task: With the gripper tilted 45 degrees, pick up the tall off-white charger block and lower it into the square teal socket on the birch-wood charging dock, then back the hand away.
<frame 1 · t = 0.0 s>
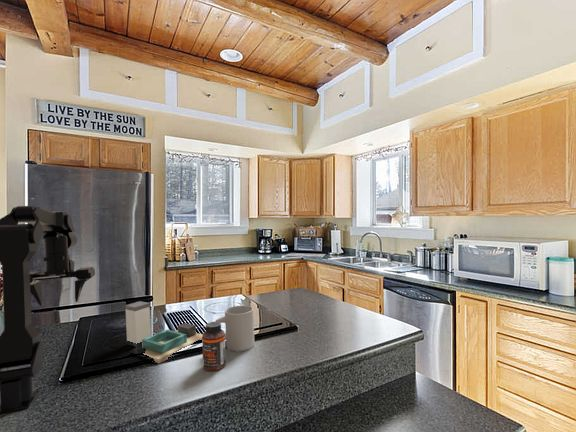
hand: (59, 303, 97), 15 cm above the table, tool pointing down, fingers open, 9 cm apart
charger: (139, 343, 102), on the table
mug: (234, 347, 96), on the table
supplement bottle: (214, 366, 85), on the table
charging dock: (165, 348, 97), on the table
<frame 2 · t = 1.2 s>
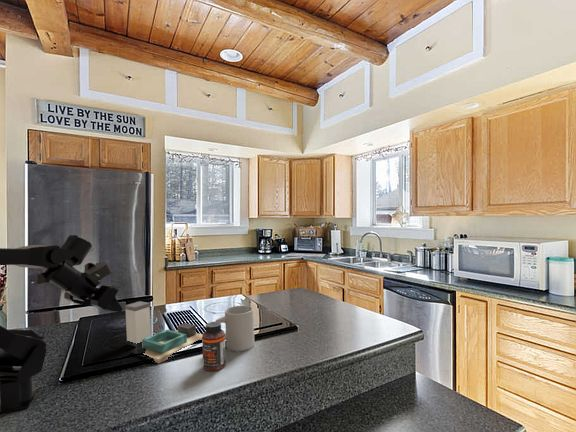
hand: (112, 308, 95), 13 cm above the table, tool tilted 45°, fingers open, 9 cm apart
nothing on the table moved.
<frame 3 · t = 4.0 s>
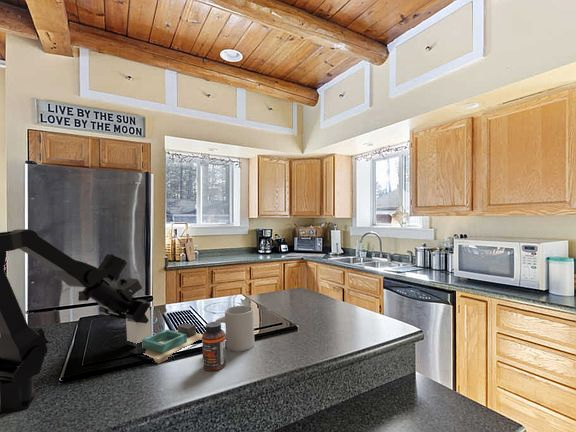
hand: (142, 320, 103), 7 cm above the table, tool tilted 45°, fingers closed on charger, 5 cm apart
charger: (139, 343, 102), on the table, touching gripper
everything else where it was.
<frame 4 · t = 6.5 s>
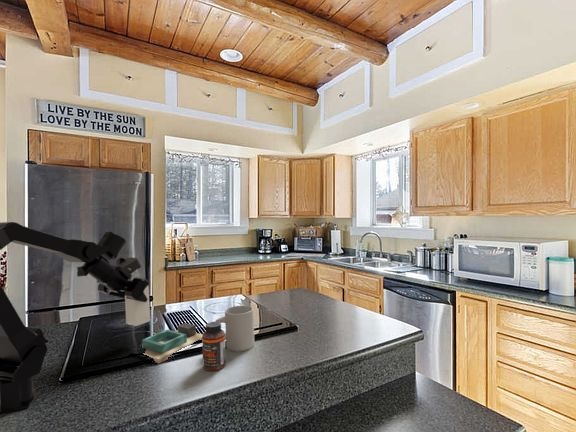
hand: (141, 299, 103), 13 cm above the table, tool tilted 45°, fingers closed on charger, 5 cm apart
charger: (138, 322, 101), point 7 cm above the table, touching gripper
everything else where it was.
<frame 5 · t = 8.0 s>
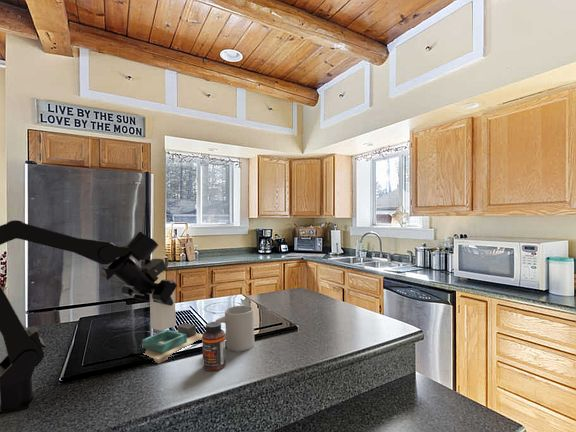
hand: (166, 303, 98), 14 cm above the table, tool tilted 45°, fingers closed on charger, 5 cm apart
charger: (163, 326, 97), point 7 cm above the table, touching gripper
everything else where it was.
when the fingers open (10 cm above the table, at t = 9.2 s): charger drops 2 cm, resting on charging dock.
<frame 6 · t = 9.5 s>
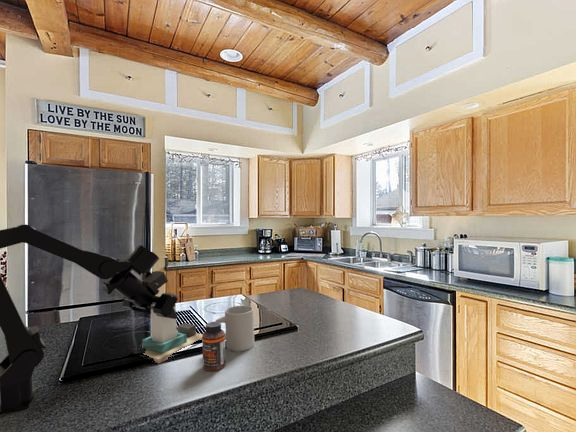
hand: (167, 315, 98), 10 cm above the table, tool tilted 45°, fingers open, 8 cm apart
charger: (164, 344, 97), point 1 cm above the table, touching charging dock
everything else where it was.
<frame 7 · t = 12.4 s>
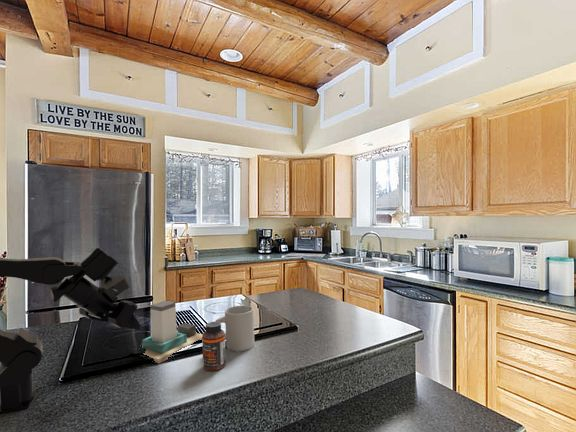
hand: (129, 324, 89), 10 cm above the table, tool tilted 45°, fingers open, 9 cm apart
nothing on the table moved.
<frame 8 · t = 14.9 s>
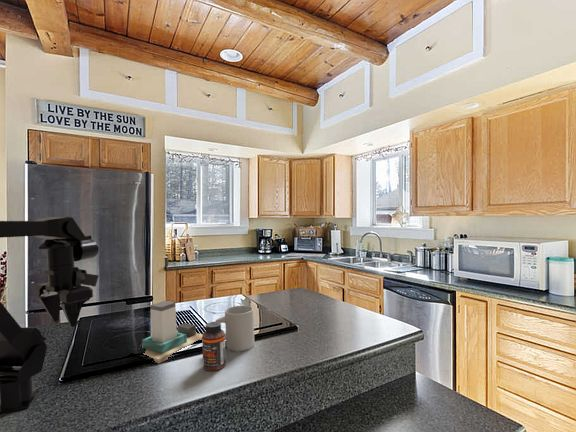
hand: (64, 323, 84), 13 cm above the table, tool pointing down, fingers open, 9 cm apart
nothing on the table moved.
at the end: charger 0.1 cm off-centre on the charging dock, point 1.2 cm above the charging dock's base; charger tilted 0°; the gripper is holding nothing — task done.
